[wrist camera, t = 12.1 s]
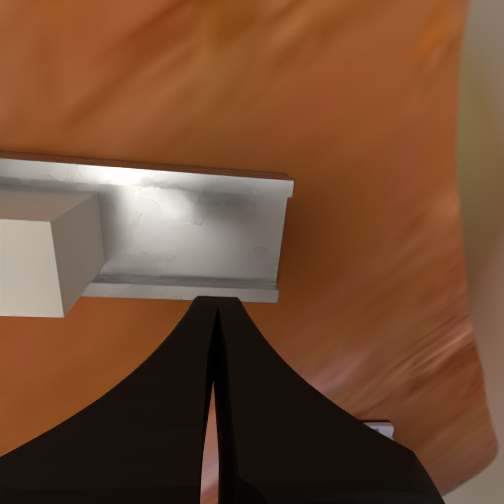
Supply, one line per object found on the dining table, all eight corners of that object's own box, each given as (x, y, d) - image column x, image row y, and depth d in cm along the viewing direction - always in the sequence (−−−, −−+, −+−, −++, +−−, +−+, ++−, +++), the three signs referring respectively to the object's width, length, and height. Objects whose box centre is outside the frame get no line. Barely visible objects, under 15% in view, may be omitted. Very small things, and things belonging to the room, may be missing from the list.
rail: (285, 173, 18) (309, 195, 13) (271, 284, 21) (287, 335, 16) (-58, 146, 16) (-176, 159, 11) (-26, 272, 19) (-112, 326, 14)
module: (98, 191, 16) (38, 229, 11) (104, 265, 18) (54, 329, 12) (-35, 182, 16) (-167, 217, 10) (-17, 259, 17) (-124, 325, 12)
